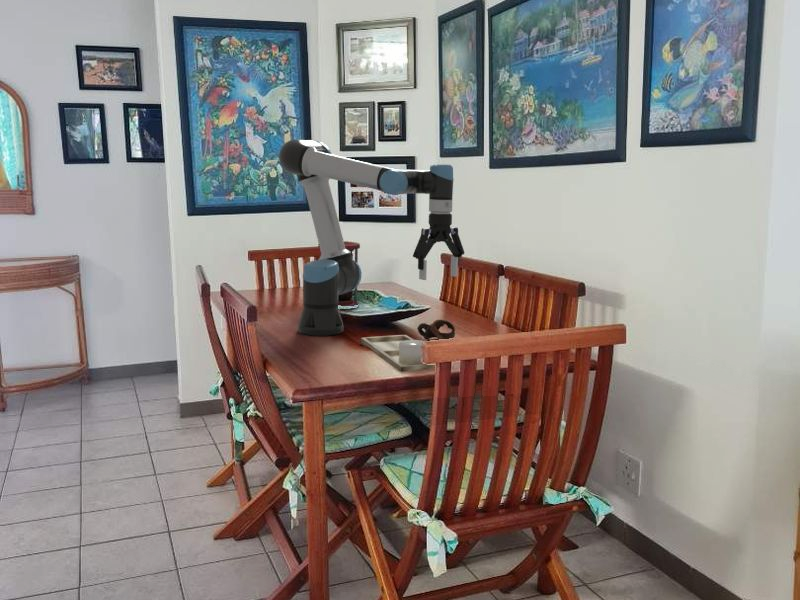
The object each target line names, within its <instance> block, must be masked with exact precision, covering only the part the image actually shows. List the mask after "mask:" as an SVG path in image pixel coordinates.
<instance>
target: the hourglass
mask: <svg viewBox="0 0 800 600" xmlns="http://www.w3.org/2000/svg"><path fill="white" fill-rule="evenodd" d="M344 245H345V248H346V249H347V250H348V251H350V252H351V254H352V258H353V259H354V261H355V262H357V263H358V259H359V258H358V255H359V254H358V253H359V252H358V251H359V250H358V249H360V248H361V244H360V243H359V242H353V241H344ZM317 247H318V248H319V249H320V246H319V242H318V245H317ZM353 252H354V253H353ZM358 264H359V263H358ZM353 294H354V298H353ZM358 304H359V305H360V301H358V286H357V287H356V288H355V289H354V290H352V291H351V292H349V293H345V294H341V295H338V305H341V306H354V305H358Z"/></svg>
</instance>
